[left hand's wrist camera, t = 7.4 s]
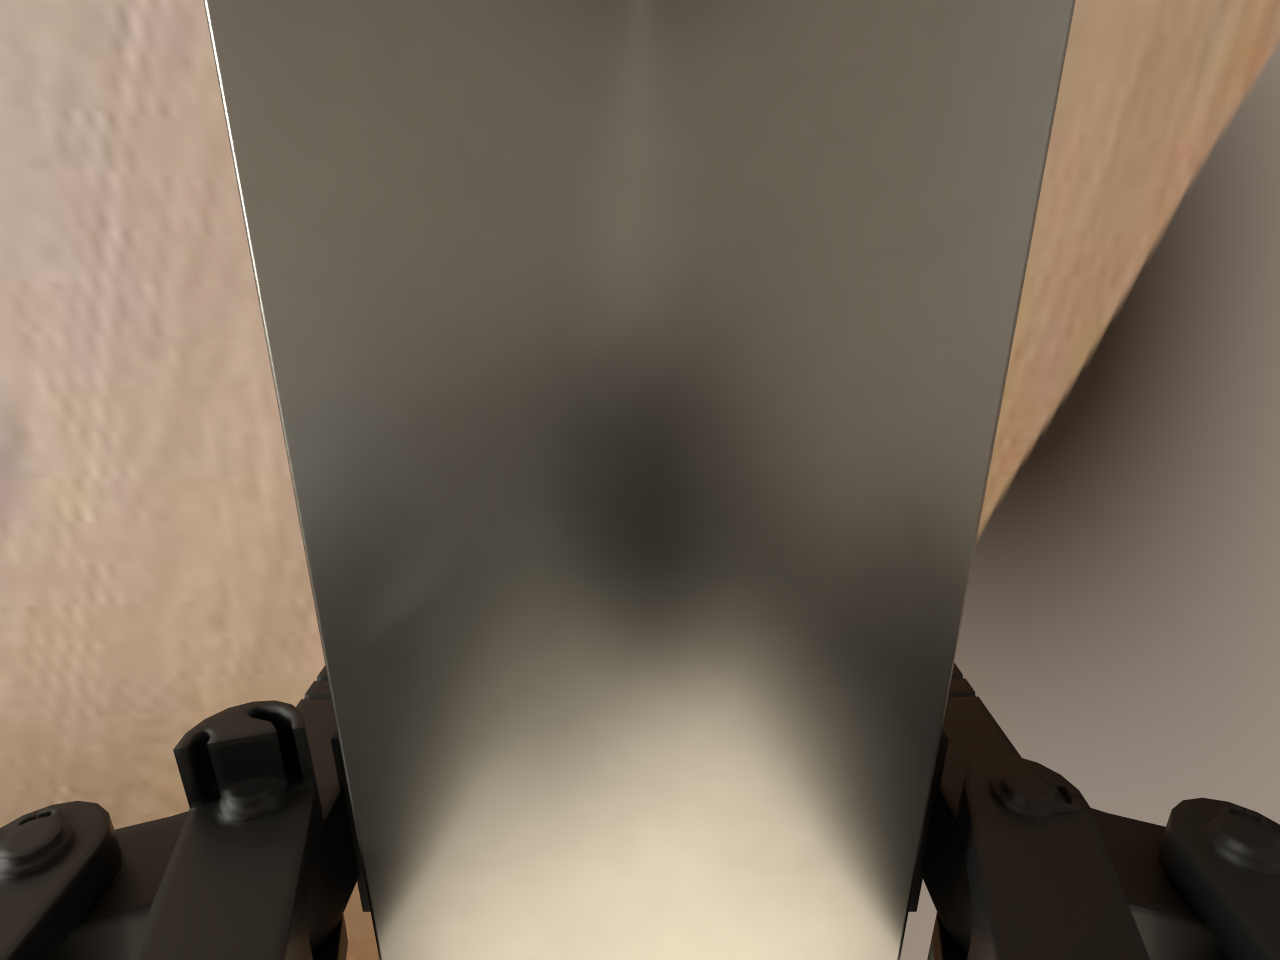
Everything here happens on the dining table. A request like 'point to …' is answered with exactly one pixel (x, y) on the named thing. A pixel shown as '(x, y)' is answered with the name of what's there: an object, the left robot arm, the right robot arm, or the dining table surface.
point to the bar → (639, 439)
